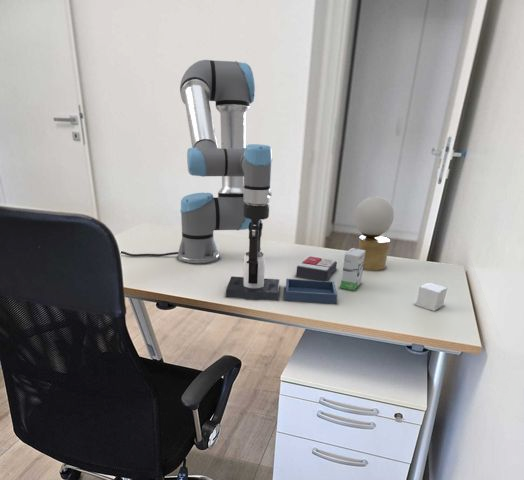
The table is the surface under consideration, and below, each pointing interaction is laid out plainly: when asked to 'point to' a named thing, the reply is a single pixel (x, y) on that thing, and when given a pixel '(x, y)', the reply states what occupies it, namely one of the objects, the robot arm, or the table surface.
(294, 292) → the blue tray
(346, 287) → the ink box
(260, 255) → the can
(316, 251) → the table surface
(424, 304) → the white cube
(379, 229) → the lamp
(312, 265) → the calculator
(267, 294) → the plate
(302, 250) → the table surface
